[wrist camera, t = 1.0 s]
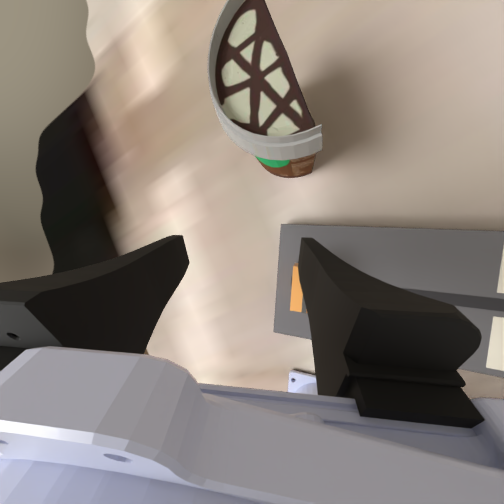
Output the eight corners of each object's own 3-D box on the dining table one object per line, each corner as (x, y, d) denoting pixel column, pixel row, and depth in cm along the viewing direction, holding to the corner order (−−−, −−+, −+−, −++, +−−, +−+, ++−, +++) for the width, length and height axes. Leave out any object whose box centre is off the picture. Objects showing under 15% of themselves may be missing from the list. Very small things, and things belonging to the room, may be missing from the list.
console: (589, 382, 15) (631, 403, 13) (276, 324, 22) (273, 332, 20) (616, 237, 14) (665, 236, 12) (283, 225, 22) (280, 223, 20)
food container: (231, 116, 23) (177, 24, 13) (277, 87, 21) (254, -43, 12) (265, 207, 22) (234, 180, 13) (316, 184, 20) (325, 133, 11)
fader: (316, 304, 19) (318, 315, 16) (292, 300, 19) (289, 310, 16) (319, 264, 18) (322, 268, 15) (295, 262, 19) (293, 266, 16)
